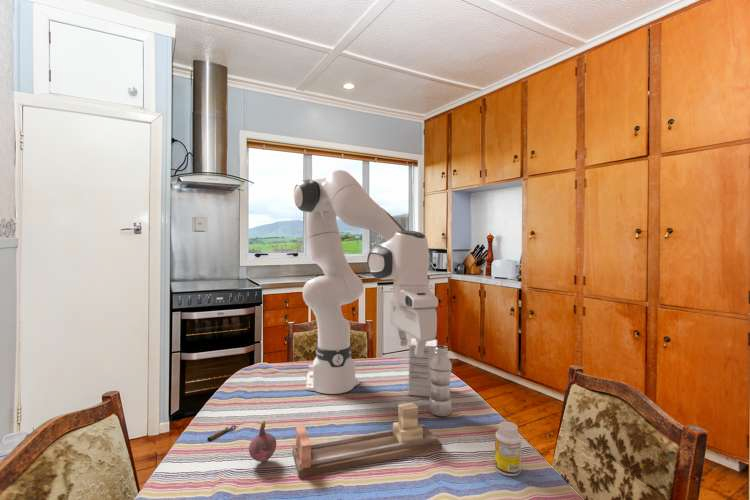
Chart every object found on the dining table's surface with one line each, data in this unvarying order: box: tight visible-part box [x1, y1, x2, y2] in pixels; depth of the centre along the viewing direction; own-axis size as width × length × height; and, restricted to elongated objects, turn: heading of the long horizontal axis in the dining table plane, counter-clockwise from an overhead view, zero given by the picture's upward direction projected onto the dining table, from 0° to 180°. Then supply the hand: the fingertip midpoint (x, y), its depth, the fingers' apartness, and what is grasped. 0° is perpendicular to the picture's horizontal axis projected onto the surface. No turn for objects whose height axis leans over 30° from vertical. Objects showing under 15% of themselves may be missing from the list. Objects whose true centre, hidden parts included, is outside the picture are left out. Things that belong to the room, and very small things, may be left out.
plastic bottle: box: [428, 345, 453, 417], centre depth 113 cm, size 6×7×20 cm
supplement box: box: [408, 337, 438, 398], centre depth 130 cm, size 10×9×17 cm
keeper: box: [392, 402, 423, 443], centre depth 97 cm, size 5×6×8 cm
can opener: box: [206, 424, 239, 442], centre depth 101 cm, size 9×2×1 cm, turn 145°
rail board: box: [292, 423, 443, 479], centre depth 93 cm, size 10×35×6 cm, turn 110°
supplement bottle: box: [494, 420, 522, 477], centre depth 87 cm, size 6×6×10 cm
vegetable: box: [248, 420, 277, 464], centre depth 88 cm, size 6×6×10 cm
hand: (410, 350), depth 96 cm, fingers open, 8 cm apart
